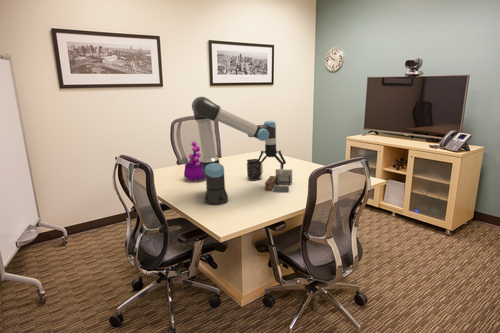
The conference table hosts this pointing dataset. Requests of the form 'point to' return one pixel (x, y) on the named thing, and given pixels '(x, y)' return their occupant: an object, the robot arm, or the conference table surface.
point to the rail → (270, 183)
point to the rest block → (281, 188)
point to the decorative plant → (194, 165)
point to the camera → (253, 169)
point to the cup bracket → (283, 177)
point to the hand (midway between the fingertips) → (271, 173)
